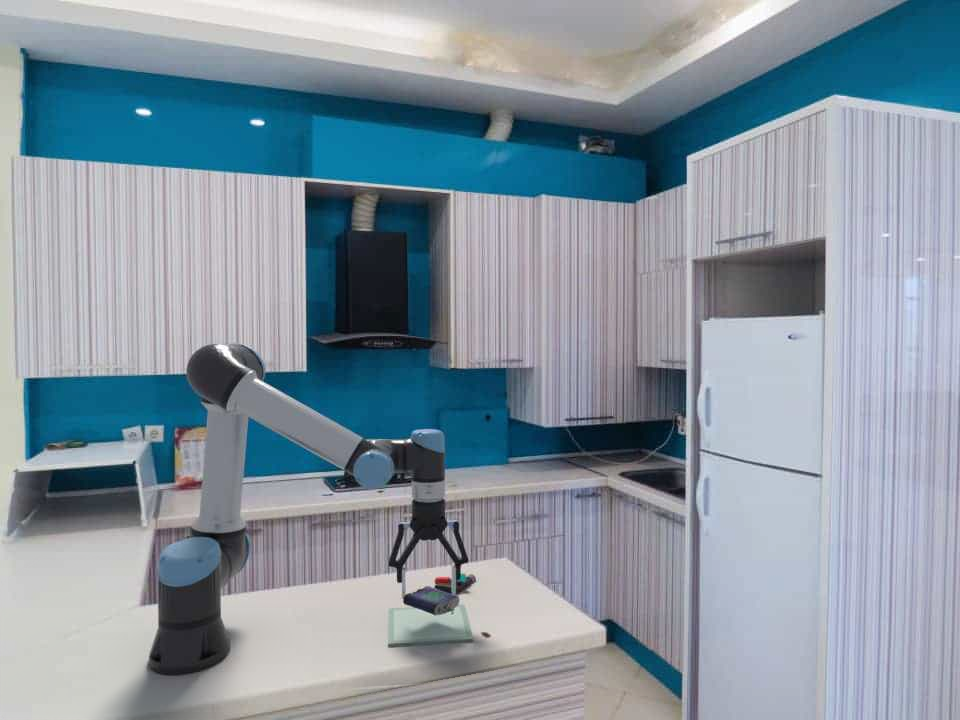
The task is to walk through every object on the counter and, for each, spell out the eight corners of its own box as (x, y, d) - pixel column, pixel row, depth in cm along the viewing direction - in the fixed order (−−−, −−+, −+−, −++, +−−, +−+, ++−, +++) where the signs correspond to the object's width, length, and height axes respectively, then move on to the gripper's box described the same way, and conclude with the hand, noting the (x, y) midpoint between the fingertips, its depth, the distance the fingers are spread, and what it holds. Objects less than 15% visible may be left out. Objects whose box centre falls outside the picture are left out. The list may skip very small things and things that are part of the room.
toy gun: (479, 583, 169) (479, 565, 169) (456, 599, 158) (456, 579, 158) (448, 576, 173) (448, 559, 173) (424, 591, 163) (424, 573, 163)
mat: (387, 646, 132) (387, 643, 132) (388, 610, 150) (388, 608, 150) (473, 641, 135) (473, 638, 135) (464, 606, 153) (464, 604, 153)
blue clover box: (430, 584, 147) (467, 597, 140) (429, 596, 147) (466, 610, 140) (403, 594, 139) (440, 608, 133) (402, 607, 139) (439, 622, 133)
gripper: (376, 504, 138) (376, 604, 138) (481, 500, 141) (481, 598, 141) (377, 496, 145) (377, 591, 146) (477, 492, 148) (477, 586, 149)
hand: (428, 595), depth 143 cm, fingers closed on blue clover box, 11 cm apart
